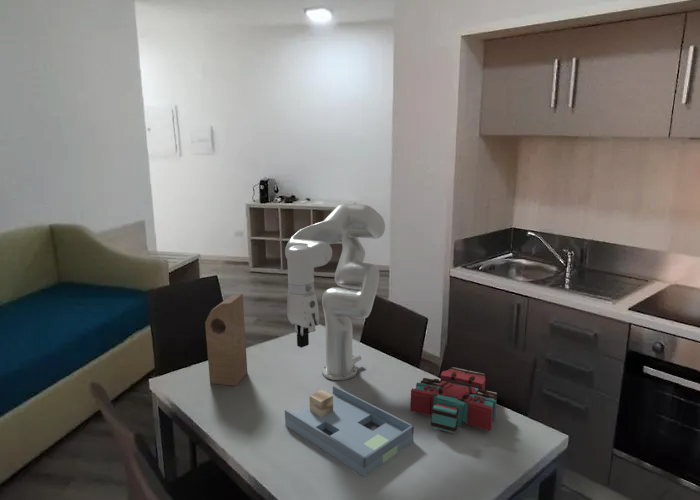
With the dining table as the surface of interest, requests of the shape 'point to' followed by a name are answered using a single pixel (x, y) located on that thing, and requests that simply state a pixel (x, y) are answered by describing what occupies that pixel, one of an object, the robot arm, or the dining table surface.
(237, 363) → the decorative block
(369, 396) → the dining table surface
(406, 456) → the dining table surface
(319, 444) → the trap board
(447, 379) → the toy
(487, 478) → the dining table surface
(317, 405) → the oak block
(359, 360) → the robot arm
